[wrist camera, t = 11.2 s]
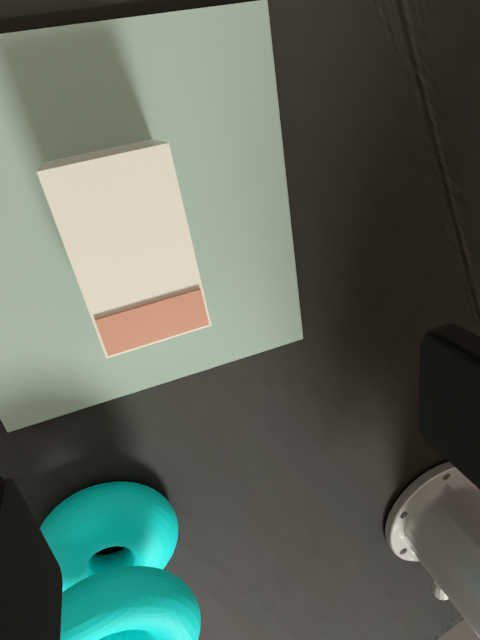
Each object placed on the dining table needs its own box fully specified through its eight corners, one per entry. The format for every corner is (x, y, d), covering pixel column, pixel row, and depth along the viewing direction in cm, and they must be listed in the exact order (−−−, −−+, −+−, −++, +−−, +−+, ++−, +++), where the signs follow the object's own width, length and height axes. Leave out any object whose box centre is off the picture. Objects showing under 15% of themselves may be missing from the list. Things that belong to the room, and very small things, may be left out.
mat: (299, 335, 32) (303, 338, 31) (8, 426, 28) (7, 432, 27) (262, 2, 23) (267, -1, 22) (-178, 59, 19) (-185, 57, 18)
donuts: (-22, 673, 21) (170, 574, 23) (7, 515, 30) (145, 450, 32) (73, 750, 26) (227, 663, 28) (74, 594, 35) (191, 534, 36)
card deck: (152, 138, 23) (169, 143, 19) (190, 293, 27) (212, 327, 23) (44, 161, 22) (36, 172, 18) (101, 319, 26) (106, 360, 22)
